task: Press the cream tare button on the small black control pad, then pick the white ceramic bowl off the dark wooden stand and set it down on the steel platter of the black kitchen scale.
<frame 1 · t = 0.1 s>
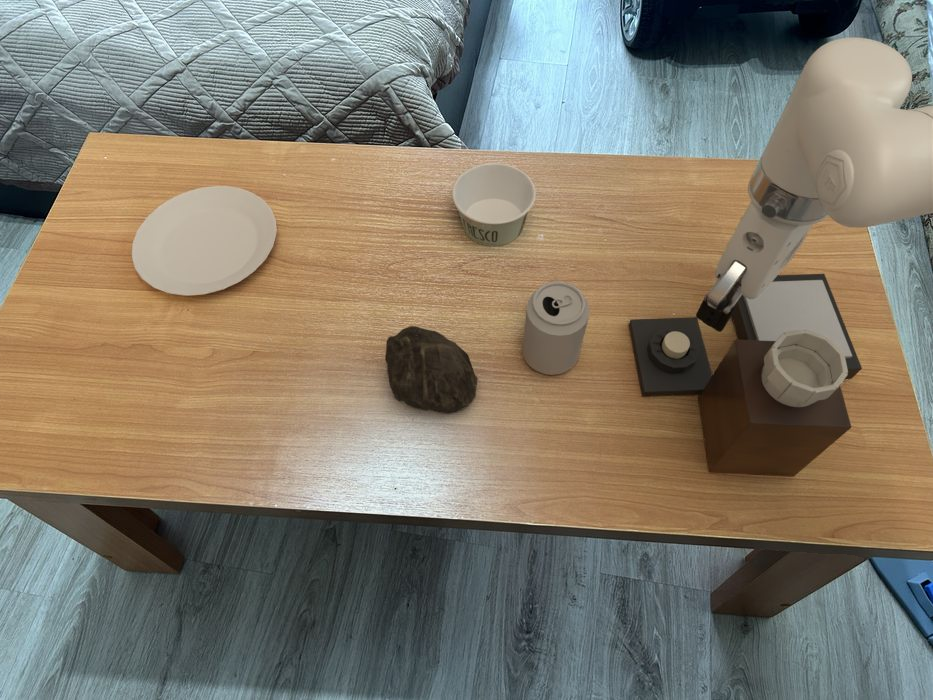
hand: (732, 296, 72), 15 cm above the table, tool pointing down, fingers open, 9 cm apart
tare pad: (669, 358, 86), on the table
tare button: (675, 345, 83), point 3 cm above the table, slide at 0.1 cm
bowl: (790, 381, 68), point 14 cm above the table, touching stand
plate: (210, 248, 97), on the table
scale: (784, 331, 87), on the table
food container: (493, 223, 99), on the table
rock: (433, 386, 84), on the table
can: (549, 354, 86), on the table
stand: (744, 435, 80), on the table
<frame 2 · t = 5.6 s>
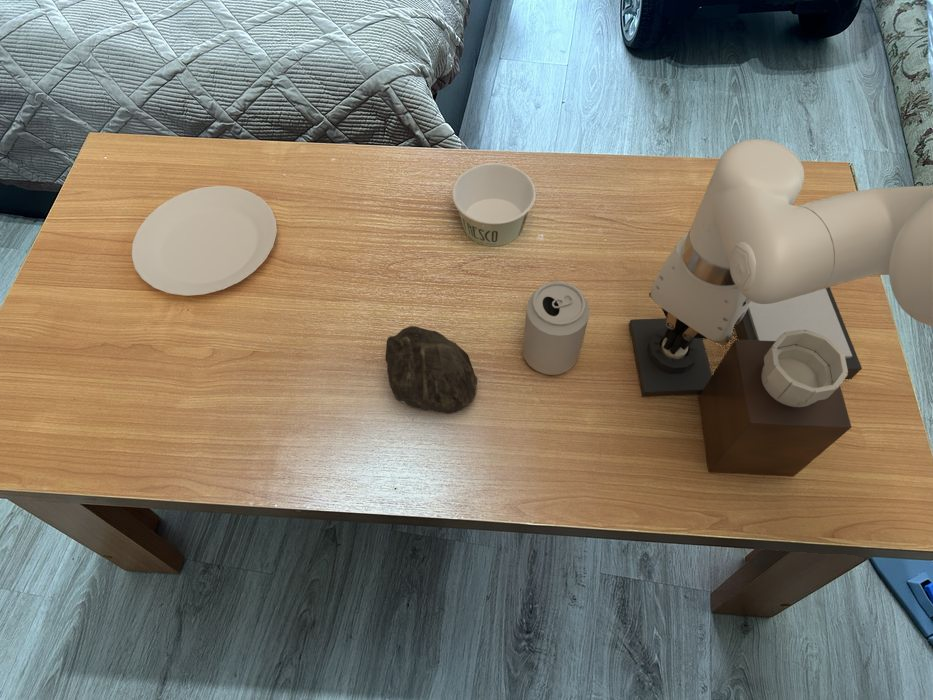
hand: (675, 344, 83), 3 cm above the table, tool pointing down, fingers closed
tare button: (674, 348, 83), point 3 cm above the table, slide at -0.7 cm, touching gripper
everything else where it was.
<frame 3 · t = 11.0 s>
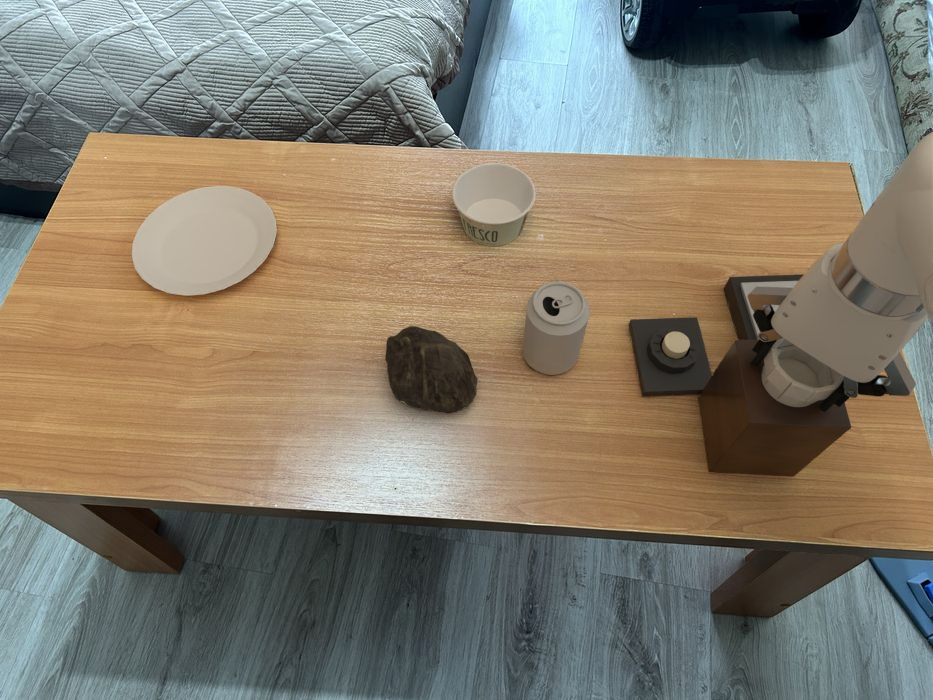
hand: (794, 377, 67), 15 cm above the table, tool pointing down, fingers closed on bowl, 7 cm apart
tare button: (675, 345, 83), point 3 cm above the table, slide at 0.1 cm
bowl: (790, 381, 68), point 14 cm above the table, touching gripper, stand
everything else where it was.
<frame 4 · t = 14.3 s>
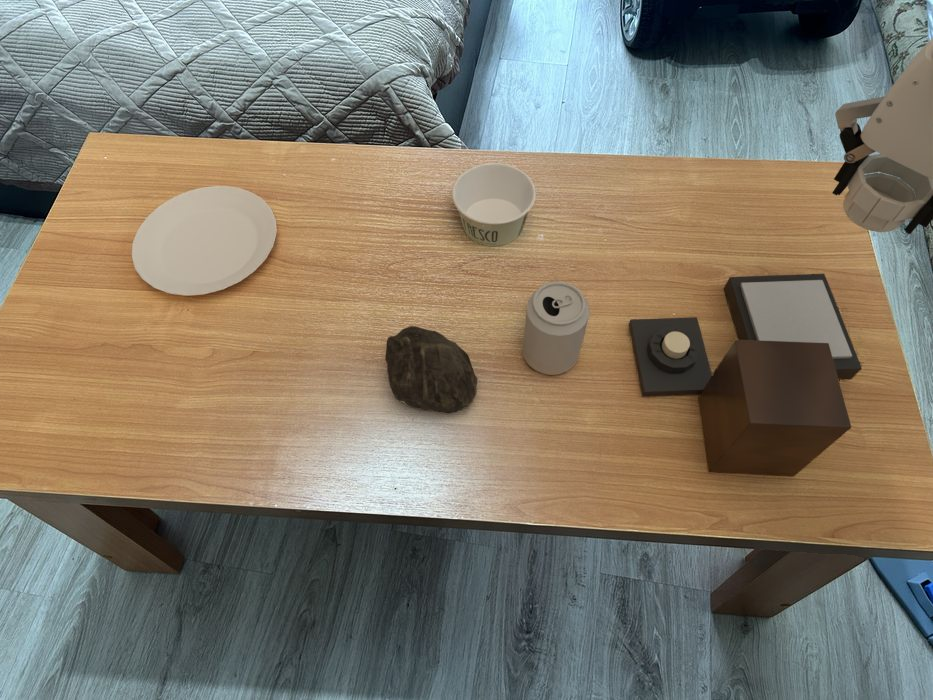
hand: (876, 205, 67), 24 cm above the table, tool pointing down, fingers closed on bowl, 7 cm apart
bowl: (873, 210, 68), point 23 cm above the table, touching gripper
everything else where it was.
when the fingers open (4 cm above the table, at t = 17.8 s): bowl stays where it is, resting on scale.
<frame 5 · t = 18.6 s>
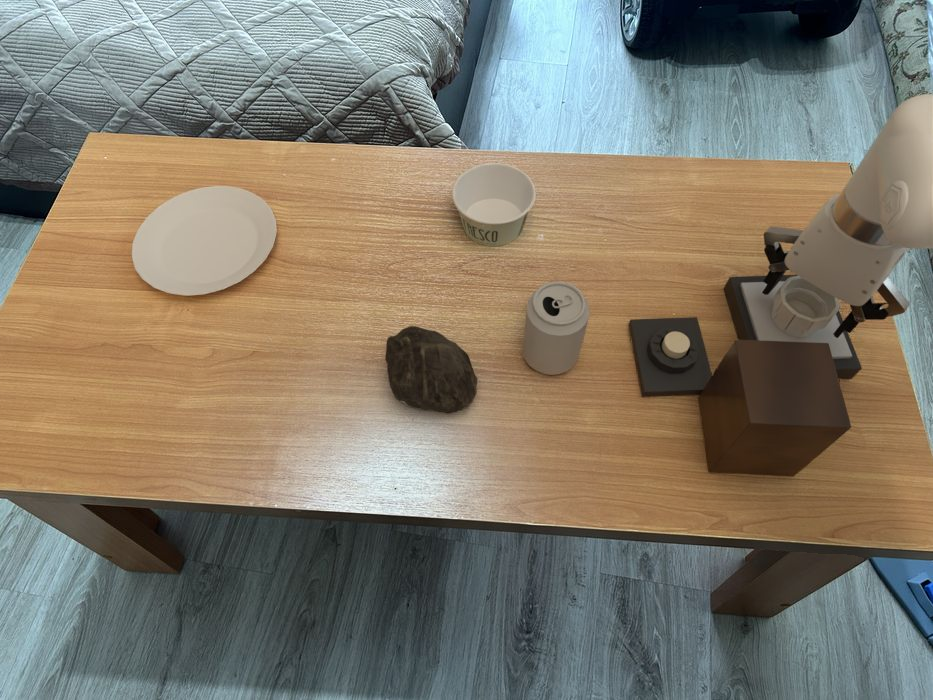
hand: (804, 308, 82), 6 cm above the table, tool pointing down, fingers open, 9 cm apart
bowl: (794, 317, 85), point 3 cm above the table, touching scale
everything else where it was.
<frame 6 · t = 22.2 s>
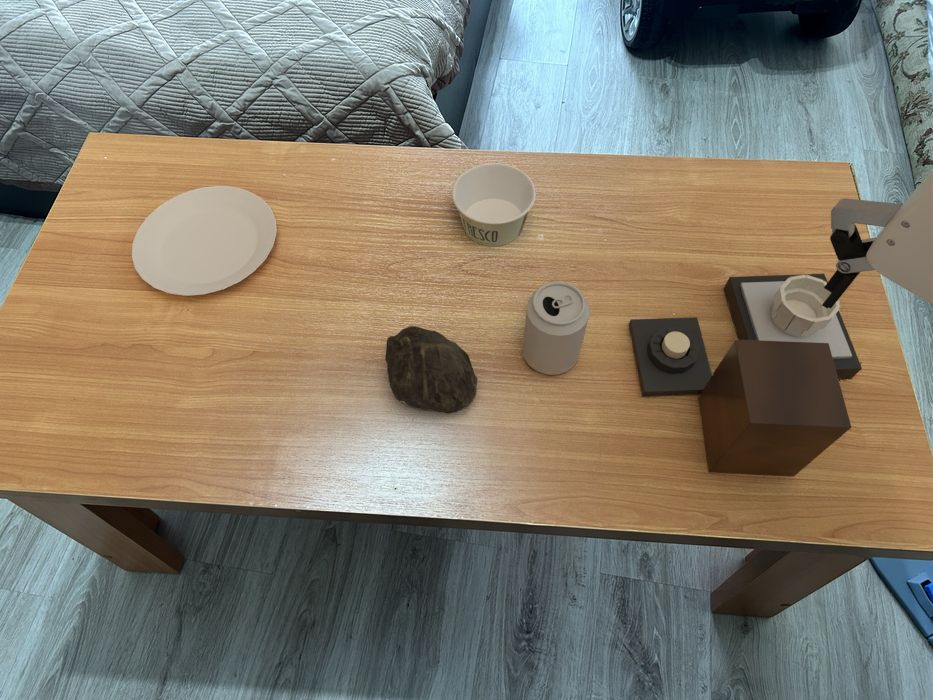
hand: (890, 330, 52), 30 cm above the table, tool pointing down, fingers open, 9 cm apart
nothing on the table moved.
at the end: tare button pushed in 0.9 cm at the most during the clip, back to where it started at the end; bowl 0.0 cm off-centre on the scale, point 3.3 cm above the scale's base; bowl tilted 0° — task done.
